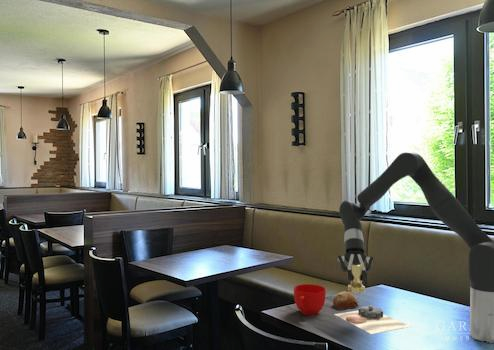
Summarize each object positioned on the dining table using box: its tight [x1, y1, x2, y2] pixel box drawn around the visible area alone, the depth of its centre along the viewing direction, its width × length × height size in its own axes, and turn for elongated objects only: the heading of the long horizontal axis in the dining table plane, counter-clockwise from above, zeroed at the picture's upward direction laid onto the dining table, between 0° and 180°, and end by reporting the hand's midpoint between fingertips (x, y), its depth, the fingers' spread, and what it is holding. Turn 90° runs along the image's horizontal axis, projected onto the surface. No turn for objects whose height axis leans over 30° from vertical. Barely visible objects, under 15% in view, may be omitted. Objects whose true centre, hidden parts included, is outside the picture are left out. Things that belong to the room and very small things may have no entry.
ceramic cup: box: [293, 283, 327, 316], centre depth 176 cm, size 13×17×10 cm
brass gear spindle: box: [347, 264, 366, 294], centre depth 165 cm, size 6×6×10 cm
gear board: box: [333, 304, 412, 335], centre depth 165 cm, size 22×18×5 cm
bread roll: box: [332, 291, 360, 310], centre depth 186 cm, size 10×10×8 cm
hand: (357, 280), depth 163 cm, fingers closed on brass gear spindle, 4 cm apart
